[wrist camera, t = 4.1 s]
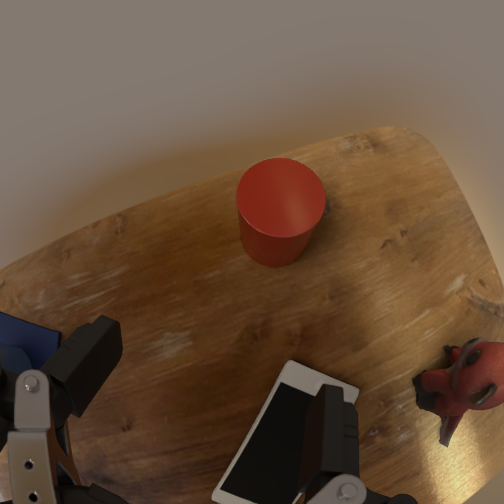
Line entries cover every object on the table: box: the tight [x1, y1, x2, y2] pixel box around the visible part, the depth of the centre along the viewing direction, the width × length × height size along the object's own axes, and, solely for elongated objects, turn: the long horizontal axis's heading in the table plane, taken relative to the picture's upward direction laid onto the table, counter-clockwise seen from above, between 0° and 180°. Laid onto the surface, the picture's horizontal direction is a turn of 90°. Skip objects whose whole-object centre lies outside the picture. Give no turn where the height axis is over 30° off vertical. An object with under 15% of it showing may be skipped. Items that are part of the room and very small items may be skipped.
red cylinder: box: [236, 158, 326, 267], centre depth 25 cm, size 6×6×8 cm
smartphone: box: [212, 360, 359, 504], centre depth 22 cm, size 7×16×1 cm, turn 154°
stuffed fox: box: [412, 338, 504, 448], centre depth 18 cm, size 8×11×12 cm
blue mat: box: [0, 312, 61, 370], centre depth 24 cm, size 12×12×1 cm
